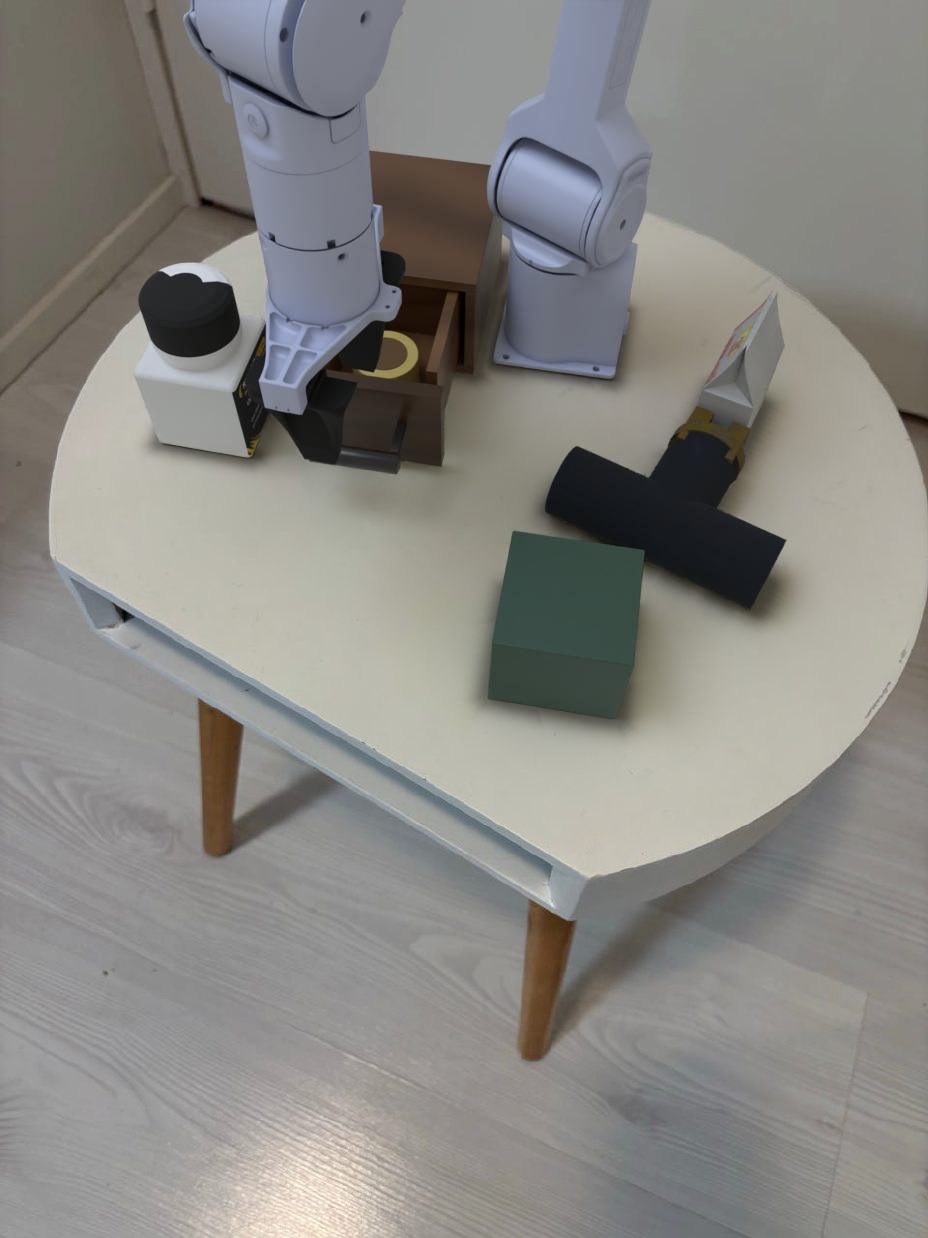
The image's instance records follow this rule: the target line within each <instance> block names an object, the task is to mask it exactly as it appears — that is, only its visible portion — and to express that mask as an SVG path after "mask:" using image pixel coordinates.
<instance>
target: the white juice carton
mask: <svg viewBox="0 0 928 1238" xmlns="http://www.w3.org/2000/svg"><path fill="white" fill-rule="evenodd" d="M773 291H774V289H772V290H771V292H770V293H769V295H768V296H767V298H766V299H765V300H764V302H762V303H761V304H760V306H759V307H757V308H756V309H755V310H754V311H753V312H752V313H751V314H750V315H749V316H748V317H746V318H745V319H744V320H743V321H742V322H741V323H739V324H738V326H736V327H735V328H734V330H733V331H732V333H731V335H730V337H729V339H728V341H727V343H726V345H725V346H724V348H723V350H722V352H721V354H720V356H719V358H718V360H717V362H716V363H715V365H714V367H713V369H712V371H711V373H710V374H709V376H708V378H707V379H706V382H705V384H704V386H703V388H702V390H701V392H700V396H699V399H698V401H697V405H696V406H698V407H701V408H703V409H706V410H708V411H710V412H713V413H714V416H713V420H712V424H715V425H717V426H719V427H721V428H723V429H725V430H726V431H727V430H728V428H729V426H730V425H731V423H732V421H734V422H736V423H739V424H741V425H743V426H746V427H748V428H750V429H752V426H753V423H754V421H755V420H756V418H757V416H758V415H759V414H758V413H759V412H760V409H761V407H762V405H763V403H764V401H765V397H766V395H767V393H768V391H769V387H770V385H771V382H772V380H773V378H774V374H775V372H776V369H777V367H778V364H779V361H780V359H781V358H782V357H781V356H782V354H783V352H784V349H785V347H786V346H785V345H786V344H785V340H784V336H783V329H782V325H781V321H780V314H779V305H778V297H779V295H778V294H779V292H778V291H777V292H775V294H774V295H773Z"/></svg>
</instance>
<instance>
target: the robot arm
mask: <svg viewBox="0 0 928 1238" xmlns="http://www.w3.org/2000/svg"><path fill="white" fill-rule="evenodd" d="M652 1H653V0H563V2H562V7H561V13H560V18H559V22H558V26H557V32H556V36H555V42H554V47H553V52H552V56H551V61H550V67H549V71H548V76H547V81H546V86H545V91H544V92H543V93H541V94H539V95H536V96H534V97H531V98H530V99H527V100H525V101H524V102H522V103H520V105H518V106H517V107H516V108H515V109H513V110H512V111H511V112H510V113H509V114H508V116H507V118H506V124H505V128H504V132H503V135H502V138H501V142H500V145H499V147H498V150H497V151H496V153H495V155H494V157H493V160H492V162H491V164H490V165H491V167H490V171H489V175H488V180H487V199H488V205H489V208H490V210H491V211H492V213H493V214H494V215H496V216H497V217H499V218H502V219H503V223H502V236H504V237H505V238H507V239H508V240H509V254H508V255H509V257H508V270H507V271H508V273H507V285H506V287H507V288H506V296H505V301H504V306H503V311H502V313H501V314H502V315H501V319H500V324H499V328H498V332H497V336H496V341H495V346H494V350H493V354H492V362H494V363H495V364H497V365H505V366H512V367H519V368H526V369H534V370H541V371H548V372H549V371H550V372H554V373H555V372H556V373H564V374H570V375H578V376H584V377H593V378H600V379H605V380H607V379H608V380H610V379H613V378H615V375H616V370H617V364H618V360H619V354H620V349H621V345H622V344H621V343H622V339H623V336H626V334H627V331H628V325H629V319H630V311H629V310H628V308H629V303H630V298H631V293H632V292H631V291H632V288H633V281H634V276H635V275H634V274H635V270H636V269H635V268H636V262H637V255H638V245H639V244H638V243H636V242H633V240H634V238H635V237H636V235H637V232H638V231H639V228H640V226H641V224H642V221H643V219H644V215H645V212H646V206H647V198H648V197H647V184H648V178H649V175H650V169H651V165H652V162H651V161H652V158H653V156H654V154H653V150H652V148H651V146H650V144H649V142H648V141H647V139H646V138H645V135H644V134H643V133H642V131H641V129H640V128H639V126H638V125H637V122H636V121H635V119H634V118H633V116H632V114H631V113H630V111H629V110H628V107H627V105H626V100H627V96H628V93H629V92H628V90H629V88H630V85H631V81H632V77H633V73H634V69H635V66H636V61H637V57H638V53H639V50H640V47H641V43H642V39H643V34H644V31H645V27H646V23H647V20H648V16H649V12H650V8H651V4H652ZM189 2H190V3H189V4H190V8H189V10H188V11H187V12H186V13H185V14H184V15H183V17H182V22H183V25H184V29H185V31H186V34H187V37H188V39H189V41H190V43H191V46H192V47H193V48H194V49H195V52H196V53H197V54H198V55H199V56H200V57H201V58H202V59H203V61H204V62H206V63H207V64H208V65H210V66H211V67H212V68H213V69H214V70H215V72H216V73H217V75H218V77H219V80H220V85H221V88H222V94H223V98H224V103H227V104H228V105H230V106H231V107H232V108H233V110H234V116H235V122H236V127H237V131H238V132H237V133H238V137H239V143H240V146H241V152H242V157H243V162H244V167H245V173H246V177H247V183H248V188H249V194H250V198H251V203H252V209H253V214H254V219H255V223H256V228H257V229H256V230H257V234H258V239H259V243H260V249H261V253H262V259H263V263H264V268H265V274H266V279H267V282H266V289H265V322H266V358H265V357H260V356H256V358H255V360H254V362H253V363H252V365H251V367H250V369H249V371H248V373H247V375H246V378H245V384H246V388H247V392H248V395H249V398H250V399H251V400H253V401H254V402H256V403H257V404H259V405H260V406H262V407H263V408H264V409H266V410H267V411H268V412H269V413H270V415H272V416H273V417H274V418H275V419H276V420H277V421H278V422H279V424H280V425H281V426H282V427H283V428H284V430H285V431H286V432H287V433H288V435H289V437H290V439H291V440H292V441H293V443H294V445H295V446H296V449H297V450H298V452H299V453H300V454H301V456H302V457H303V459H304V460H307V461H309V460H312V461H317V462H322V463H326V464H325V465H329V464H331V465H330V466H336V465H335V464H336V463H337V460H338V458H339V455H340V452H341V448H342V439H343V419H344V413H345V410H346V408H347V407H348V405H349V403H350V400H351V398H352V396H353V393H354V391H355V388H356V386H357V384H358V382H353V381H348V380H343V379H338V378H333V377H328V376H327V372H326V369H322V368H323V367H324V366H325V365H326V364H327V363H328V362H329V361H330V360H331V359H332V358H333V357H334V356H335V355H336V354H338V357H339V359H340V361H341V363H342V365H343V367H347V368H352V369H357V370H362V371H368V372H373V373H374V371H375V369H376V367H377V364H378V361H379V357H380V353H381V347H382V341H383V335H384V329H385V324H386V321H391V320H393V319H394V318H395V317H396V315H397V313H398V310H399V308H400V306H401V303H402V294H401V290H400V289H399V288H398V287H399V285H400V282H401V280H402V278H403V275H404V273H405V270H406V264H405V260H404V258H403V257H402V256H401V255H399V254H397V253H394V252H389V251H384V250H380V245H379V244H380V242H381V240H382V238H383V236H384V226H383V210H382V206H381V205H375V204H373V195H372V181H371V168H370V154H369V150H370V144H369V143H370V141H369V132H368V131H369V130H368V118H367V117H368V116H367V103H366V101H367V100H366V95H367V94H368V93H369V92H370V91H371V90H373V89H374V87H375V86H376V84H377V83H378V81H379V79H380V76H381V74H382V72H383V70H384V66H385V64H386V61H387V58H388V54H389V50H390V46H391V41H392V35H393V32H394V29H395V26H396V25H397V23H398V21H399V19H400V18H401V17H402V15H403V7H404V6H405V5H406V3H407V0H189ZM321 369H322V370H321ZM322 463H321V464H322Z"/></svg>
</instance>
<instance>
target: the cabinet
mask: <svg viewBox="0 0 928 1238" xmlns="http://www.w3.org/2000/svg"><path fill="white" fill-rule="evenodd" d="M369 154H370V168H371V181H372V195H373V204H375V205H381V206H382V210H383V226H384V236H383V238H382V240H381V242H380V244H379V245H380V250H384V251H389V252H394V253H397V254H399V255H401V256H402V257H403V258H404V260H405V264H406V270H405V273H404V275H403V278H402V280H401V282H400V283H401V284H409V285H417V286H424V287H432V288H439V289H447V290H455V291H462V292H463V333H462V334H463V337H462V344H461V348H460V352H459V356H458V360H457V364H456V368H455V372H454V373H457V374H458V373H459V374H465V375H472V376H473V375H475V371H476V367H477V363H478V359H479V354H480V350H481V345H482V341H483V337H484V333H485V329H486V325H487V321H488V316H489V312H490V309H491V303H492V300H493V299H492V298H493V295H494V291H495V288H496V287H495V286H496V282H497V277H498V274H499V269H500V265H501V261H502V249H503V248H502V246H503V244H502V243H503V234H502V223H503V219H502V218H499V217H497V216H496V215H494V214H493V213H492V211H491V210H490V208H489V205H488V199H487V180H488V175H489V171H490V167H491V164H486V163H477V162H470V161H469V162H468V161H462V160H461V161H460V160H453V159H445V158H444V159H443V158H436V157H428V156H420V155H412V154H403V153H394V152H386V151H380V150H379V151H378V150H370V149H369Z"/></svg>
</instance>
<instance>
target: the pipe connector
mask: <svg viewBox="0 0 928 1238" xmlns="http://www.w3.org/2000/svg"><path fill="white" fill-rule="evenodd" d="M713 416H714V413H713V412H710V411H708V410H706V409H703V408H701V407H698V406H697V405H696V406H695V407H694V409H693V411H692V412H691V414H690V415H689V417H688V418H687V420H686V422H685V423H683V424H681V425H680V426H679V427H678V428H677V429H676V430H674V433H673V434H672V435H671V437H670V439H669V441H668V443H667V447H666V449H665V451H664V453H663V454H662V456H661V457H660V458H659V460H658V462H657V464H656V465H655V466H654V468H653V470H652V471H651V473H650V475H649V476H645V475H643V474H642V473H639V472H637V471H635V470H632V469H630V468H628V467H626V466H623V465H621V464H620V463H617V462H614V461H613V460H610V459H608V458H606V457H604V456H601V455H599V454H598V453H597V454H596V453H595V452H593V451H591V450H588V449H586V448H584V447H581V446H579V445H575V446H574V447H573V448H571V450H570V451H569V452H568V453H567V454H566V456H565V457H564V459H563V460H562V462H561V464H560V465H559V467H558V469H557V471H556V473H555V475H554V477H553V479H552V481H551V484H550V486H549V489H548V492H547V495H546V499H545V503H544V504H545V506H544V511H545V513H546V514H548V515H549V516H552V517H554V518H556V519H558V520H560V521H562V522H564V523H567V524H569V525H571V526H573V527H575V528H577V529H579V530H582V531H583V532H585V533H588V534H589V535H591V536H594V537H596V538H597V539H598V538H599V539H600V540H602V541H604V542H607V543H609V544H610V545H613V546H620V547H627V548H633V549H640V550H644V551H645V555H644V561H647V562H648V563H651V564H652V565H654V566H657V567H658V568H661V569H664V570H666V571H667V572H670V573H672V574H674V575H676V576H678V577H680V578H682V579H684V580H687V581H689V582H691V583H693V584H695V585H696V586H700V587H701V588H703V589H705V590H707V591H709V592H711V593H714V594H716V595H717V596H720V597H723V598H724V599H726V600H728V601H731V602H732V603H735V604H737V605H740V606H741V607H743V608H745V609H747V610H750V611H751V610H752V609H753V606H754V605H755V603H756V601H757V599H758V597H759V595H760V593H761V591H762V589H763V587H764V586H765V584H766V581H767V579H768V578H769V576H770V574H771V572H772V570H773V568H774V567H775V564H776V563H777V560H778V558H779V557H780V554H781V552H782V550H783V548H784V547H785V545H786V543H787V540H788V539H785V538H783V537H781V536H779V535H777V534H775V533H772V532H770V531H768V530H766V529H763V528H761V527H759V526H757V525H754V524H753V523H751V522H749V521H745V520H743V519H741V518H739V517H736V516H735V515H732V514H731V513H728V512H727V511H726V512H725V511H724V510H721V509H719V508H718V507H719V505H720V504H721V502H722V500H723V499H724V497H725V495H726V493H727V491H728V490H729V488H730V487H731V485H732V484H733V483H734V482H735V481H736V480H737V478H738V477H739V475H740V474H741V472H742V470H743V468H744V467H745V463H746V456H745V451H744V449H743V448H744V446H745V444H746V442H747V440H748V437H749V436H750V433H751V430H752V428H748V427H746V426H743V425H741V424H739V423H736V422H734V421H732V423H731V425H730V426H729V428H728V430H727V431H726V430H725V429H723V428H721V427H719V426H717V425H715V424H712V420H713Z"/></svg>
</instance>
